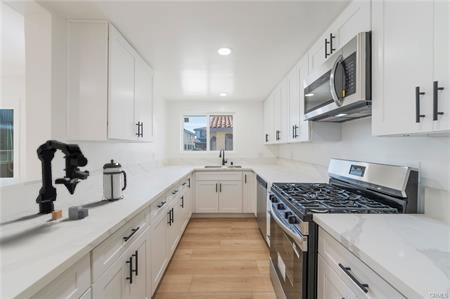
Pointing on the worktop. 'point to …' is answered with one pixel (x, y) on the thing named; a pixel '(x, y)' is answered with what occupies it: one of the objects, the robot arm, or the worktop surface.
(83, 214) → the block
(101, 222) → the worktop surface
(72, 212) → the steel block
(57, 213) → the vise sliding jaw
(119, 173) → the coffee press
